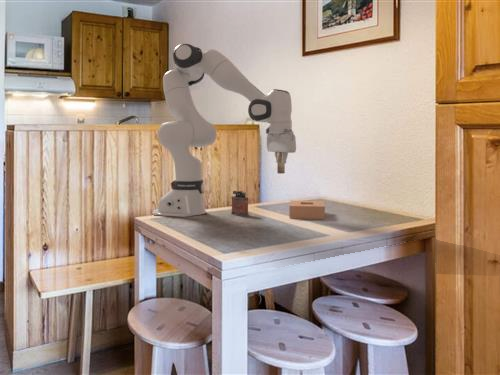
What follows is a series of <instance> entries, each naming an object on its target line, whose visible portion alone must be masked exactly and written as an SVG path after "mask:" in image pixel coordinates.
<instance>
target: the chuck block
mask: <svg viewBox="0 0 500 375" xmlns="http://www.w3.org/2000/svg"><path fill="white" fill-rule="evenodd" d="M325 213H326V206H325V202H324V200H290V201H289V214H288V215H289V216H288V217H289V219H310V220H311V219H312V220H315V219H316V220H325V219H326V217H325V216H326V214H325Z"/></svg>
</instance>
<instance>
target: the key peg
mask: <svg viewBox="0 0 500 375" xmlns="http://www.w3.org/2000/svg"><path fill="white" fill-rule="evenodd" d="M281 159H282V152H277V168H276V169H277V171H276V172H277V174H280V175H281V174H285V173H286V172H285V168H286V167H285V164H282V163H281Z"/></svg>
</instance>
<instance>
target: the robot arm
mask: <svg viewBox="0 0 500 375" xmlns="http://www.w3.org/2000/svg"><path fill="white" fill-rule="evenodd" d="M172 59H173V63H174V64H175V66H176V67H175V68H174V69H171V70H169V71H167V72H165V73H164V75H163V78H162V86H163V95H164V99H165V102H166V106H167V111H168V113H169V114H170V116H171V117H173V118H175V119H176V120H174V121H173V120H171V121H166V122H162V123H161V124H160V125H159V127H158V130H157V139H158V142H159V143H160V144H161V146H163V147H164V148H165V149H167V151H168V152H169V153H170V155H171V157H172V159H173V163H174V171H175V172H174V173H175V179H174V180H172V181H171V183H170V188H171V189H170V190H169V191H168V192H166V193H164V195H163V196H161V198H159V200H158V204H157V208H156V209H154V210H153V211H152V215H153V216H163V217H164V216H165V217H180V218H182V217H183V218H186V217H191V216H192V217H193V216H200V215H204V214H206V213H207V209H206V207H205V202H204V195H203V193H204V181H203V178H202V177H203V176H202V175H203V172H202V167H203V166H202V161H201V160H200V159H199V158H198V157H196V156H194V155H192V154H191V153H192V152H191V151H190V148H205V147H208V146H212V145H213V144H214V143H215V141H216V140H217V129H216V128H215V125H214V124H212V122H210V121H208V120H207V119H205V118H204V117H203V116H202V115H201V114H200V112H199V111H198V110H197V108H196V106H195V103H194V101H193V100H194V99H193V97H192V93H191V90H190V87H192V86H193V85H196V84H199V83H200V82H201V81H202V80H203V79H204V76H205V74H206V75H207V76H209V77H210V78H211V80H212V81H213V82H214V83H216V84H217V85H218V86H219V87H220V88H222V89H224V90H226V91H229V92H232V93H236V94H240V95H241V96H243V97H244V98H246V99H247V100H248V102H250V103H249V104H248V107H247V108H248V109H247V112H248V116H249V118H250V119H251V120H252V121H254V122H259V123H267V124H269V126H268V127H267V128H266V129H265V134H266V150H267V151H268V152H272V153H273V152H274V157H275V162H276V163H277V152H282V159H281V163H282V164H287V159H288V156H289V154H293V153H294V154H295V153H296V151H297V140H296V136H295V134H294V133H295V132H293V128H292V127H293V122H292V111H293V110H292V109H293V108H292V107H293V106H292V97H291V94H290V92H288V91H287V90H283V89H277V88H273V89H271V91H269V92H268V93H266V94H264V93H263V92H262V91H261V90H260V89H259V88H257V87H256V86H255V85H254V84H253V83H252V82H250V80H249V79H248V78H247V77H246V76H245V75H244V74H243V73H242V72H241V70H239V69H238V67H237V66H235V64H234V62H232V61H231V60H230V59H229V58H228V57H226V56H225V55H224V54H222V53H221V52H220V51H218V50H217V49H213V48H211V49H208V50H205V52H204V51H202V49H201V48H199V47H196V46H194V45H192V44H189V43H181V44H178V45H177V46H176V47H175V48H174V49H173V52H172Z"/></svg>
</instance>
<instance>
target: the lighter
mask: <svg viewBox="0 0 500 375" xmlns="http://www.w3.org/2000/svg"><path fill="white" fill-rule="evenodd" d="M246 193H247V192H245V191H243V190H233V191H232V196H230V199H231V215H234V216H242V217H243V216H244V217H246V216H249V197H248V196H246V195H247V194H246Z"/></svg>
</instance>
